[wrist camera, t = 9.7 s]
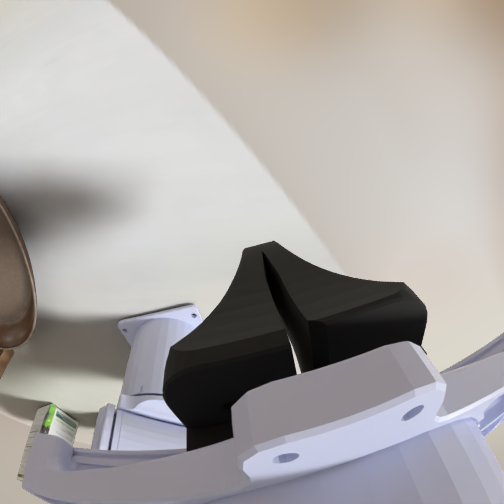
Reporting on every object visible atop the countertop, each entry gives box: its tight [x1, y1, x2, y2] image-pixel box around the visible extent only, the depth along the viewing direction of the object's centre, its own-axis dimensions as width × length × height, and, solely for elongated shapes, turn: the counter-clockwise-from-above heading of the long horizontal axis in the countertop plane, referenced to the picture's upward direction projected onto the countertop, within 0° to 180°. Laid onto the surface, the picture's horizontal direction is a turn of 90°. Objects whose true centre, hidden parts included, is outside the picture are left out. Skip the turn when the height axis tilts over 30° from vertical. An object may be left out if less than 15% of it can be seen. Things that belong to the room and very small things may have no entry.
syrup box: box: [17, 404, 79, 483], centre depth 25 cm, size 6×6×14 cm
